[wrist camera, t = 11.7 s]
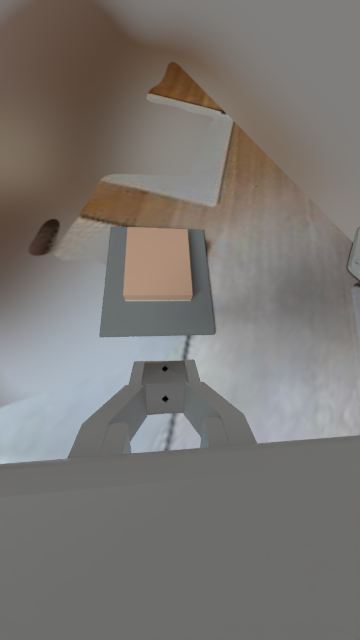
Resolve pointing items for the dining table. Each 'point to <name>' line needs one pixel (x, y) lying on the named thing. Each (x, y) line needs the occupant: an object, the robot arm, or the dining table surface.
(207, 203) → the dining table surface
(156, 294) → the terracotta tile
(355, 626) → the robot arm
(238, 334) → the dining table surface
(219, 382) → the dining table surface
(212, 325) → the rubber mat
